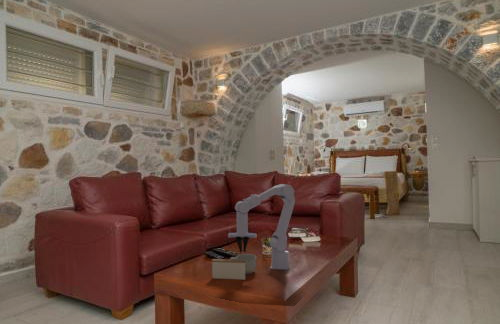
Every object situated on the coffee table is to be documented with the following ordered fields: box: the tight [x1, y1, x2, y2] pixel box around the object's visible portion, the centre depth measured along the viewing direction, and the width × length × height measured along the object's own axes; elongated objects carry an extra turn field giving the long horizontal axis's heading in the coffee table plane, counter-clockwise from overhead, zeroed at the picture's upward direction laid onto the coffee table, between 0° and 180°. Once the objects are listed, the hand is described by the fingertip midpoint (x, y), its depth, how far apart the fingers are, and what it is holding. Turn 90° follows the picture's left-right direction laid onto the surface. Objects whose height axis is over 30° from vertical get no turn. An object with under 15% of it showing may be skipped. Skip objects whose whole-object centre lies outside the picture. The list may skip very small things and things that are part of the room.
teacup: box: [228, 253, 257, 275], centre depth 169 cm, size 14×11×8 cm
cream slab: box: [211, 258, 246, 280], centre depth 160 cm, size 16×2×9 cm, turn 79°
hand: (242, 251), depth 169 cm, fingers closed
